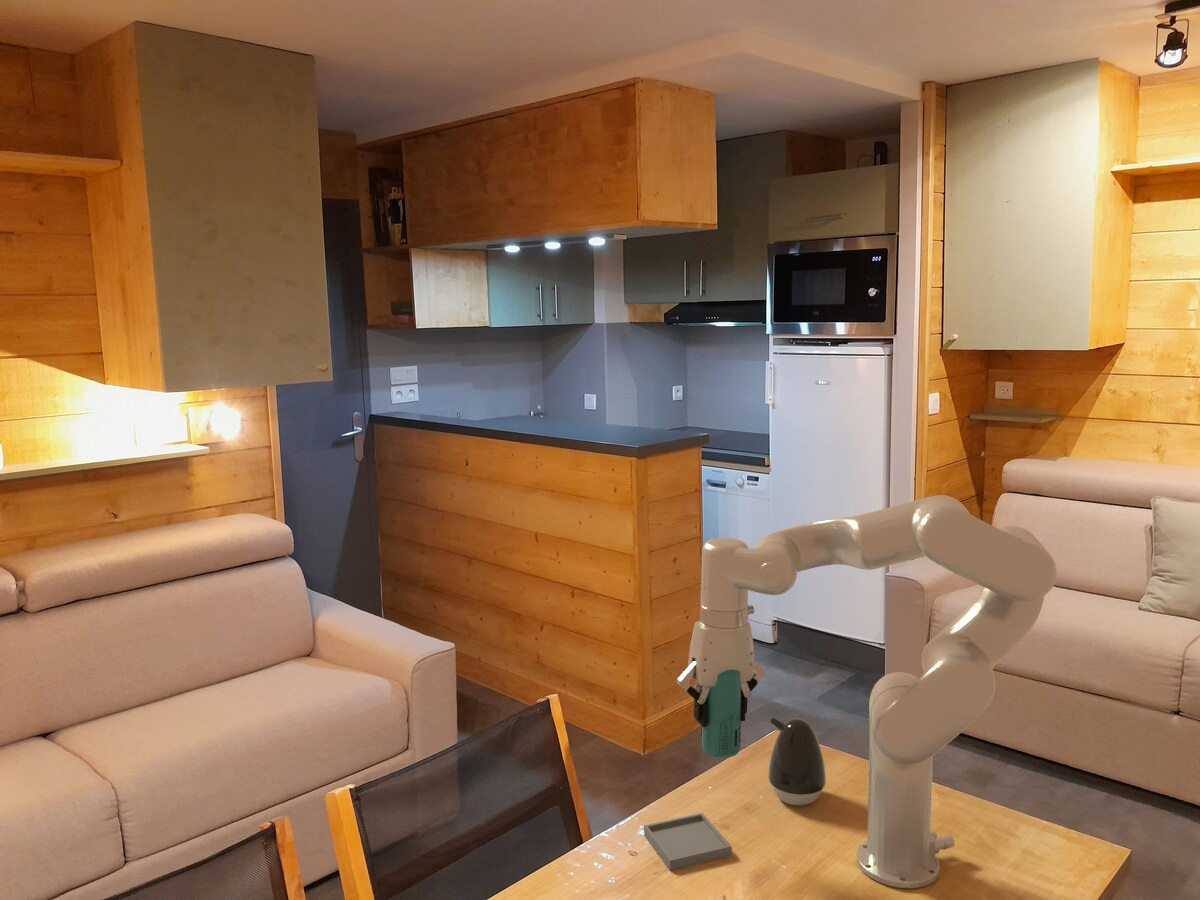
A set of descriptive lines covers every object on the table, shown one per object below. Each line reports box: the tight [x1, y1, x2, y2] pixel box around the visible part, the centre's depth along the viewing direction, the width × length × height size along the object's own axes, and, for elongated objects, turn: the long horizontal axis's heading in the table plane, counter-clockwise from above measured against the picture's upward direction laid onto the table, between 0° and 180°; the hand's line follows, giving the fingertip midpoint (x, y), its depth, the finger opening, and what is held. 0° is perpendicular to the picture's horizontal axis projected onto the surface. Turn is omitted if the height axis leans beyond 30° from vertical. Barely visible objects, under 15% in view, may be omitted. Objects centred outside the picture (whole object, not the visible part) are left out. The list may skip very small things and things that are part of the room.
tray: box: [643, 812, 732, 872], centre depth 155 cm, size 11×11×2 cm
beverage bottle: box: [700, 670, 742, 759], centre depth 152 cm, size 6×7×20 cm
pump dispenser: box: [768, 717, 827, 807], centre depth 169 cm, size 10×10×15 cm
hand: (720, 719), depth 152 cm, fingers closed on beverage bottle, 6 cm apart
